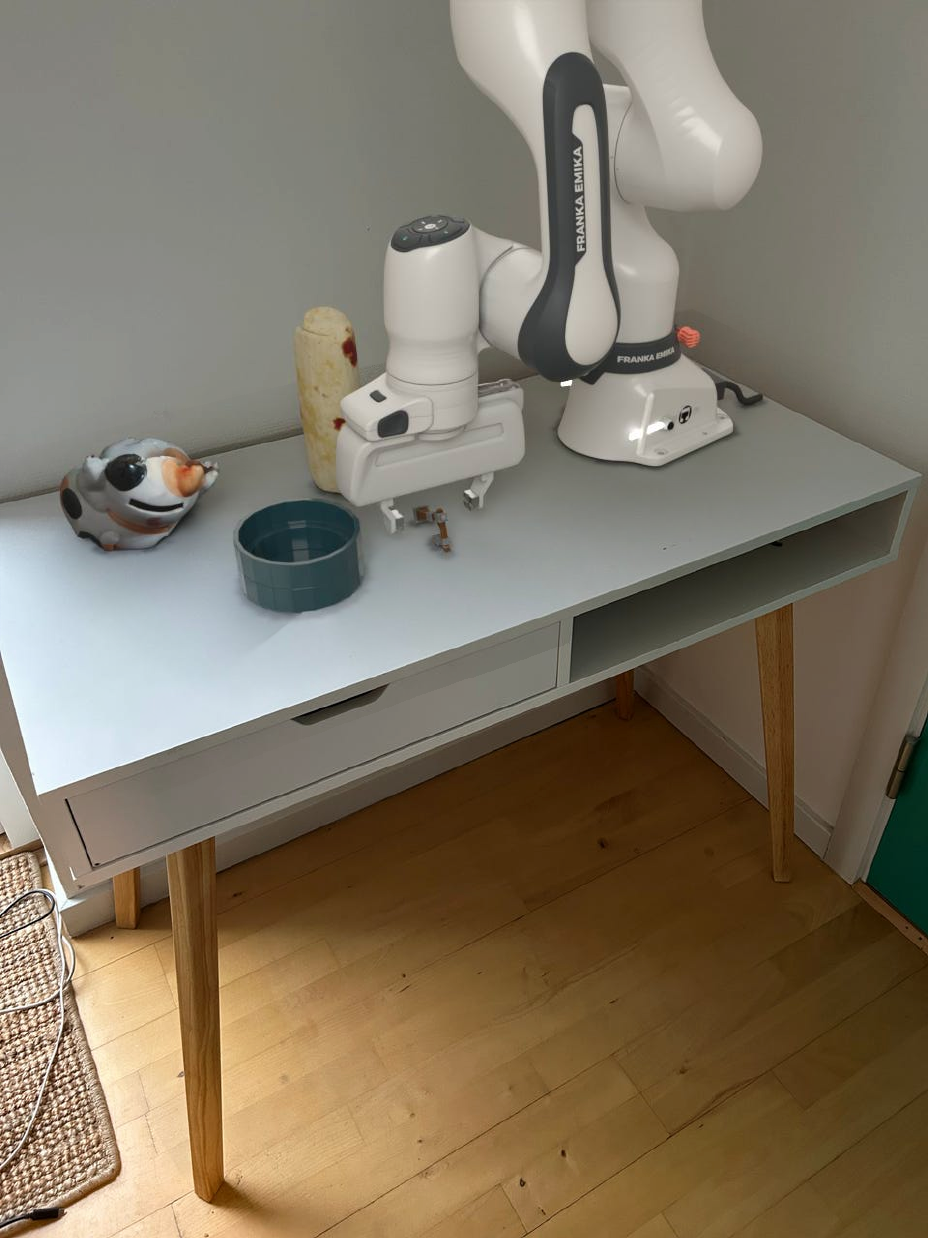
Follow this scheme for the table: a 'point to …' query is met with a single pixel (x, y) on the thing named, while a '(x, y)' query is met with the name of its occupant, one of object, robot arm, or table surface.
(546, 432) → the table surface
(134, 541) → the lucky cat figurine
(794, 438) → the table surface
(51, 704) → the table surface
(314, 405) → the food model
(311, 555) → the teal round bowl
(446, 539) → the wooden post with brackets
